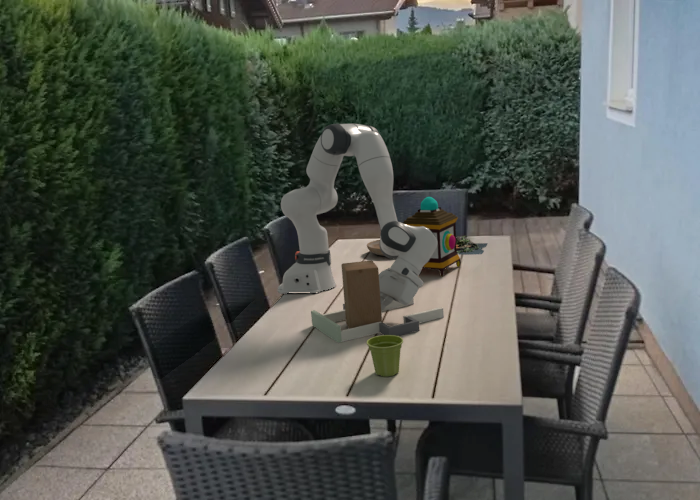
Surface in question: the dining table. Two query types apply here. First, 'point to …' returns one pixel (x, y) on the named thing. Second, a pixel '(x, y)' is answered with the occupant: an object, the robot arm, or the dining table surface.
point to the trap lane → (334, 330)
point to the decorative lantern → (438, 233)
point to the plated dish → (468, 246)
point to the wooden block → (361, 293)
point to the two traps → (398, 327)
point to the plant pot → (385, 354)
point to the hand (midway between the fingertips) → (378, 308)
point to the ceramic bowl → (375, 247)
